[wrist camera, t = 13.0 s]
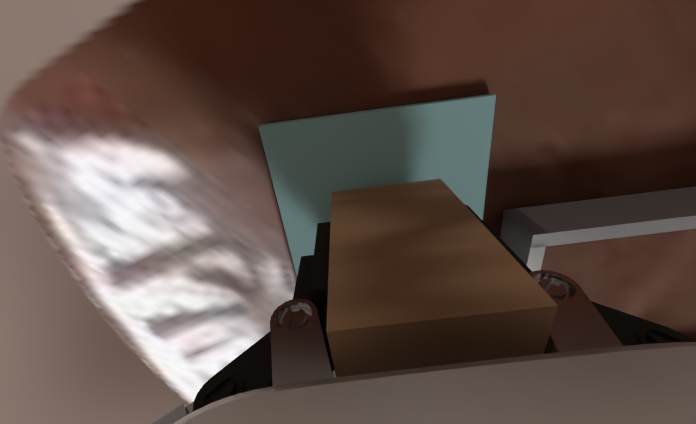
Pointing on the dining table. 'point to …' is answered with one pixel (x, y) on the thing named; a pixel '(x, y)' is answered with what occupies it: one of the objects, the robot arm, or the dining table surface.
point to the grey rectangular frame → (595, 221)
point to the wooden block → (424, 284)
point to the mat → (376, 157)
